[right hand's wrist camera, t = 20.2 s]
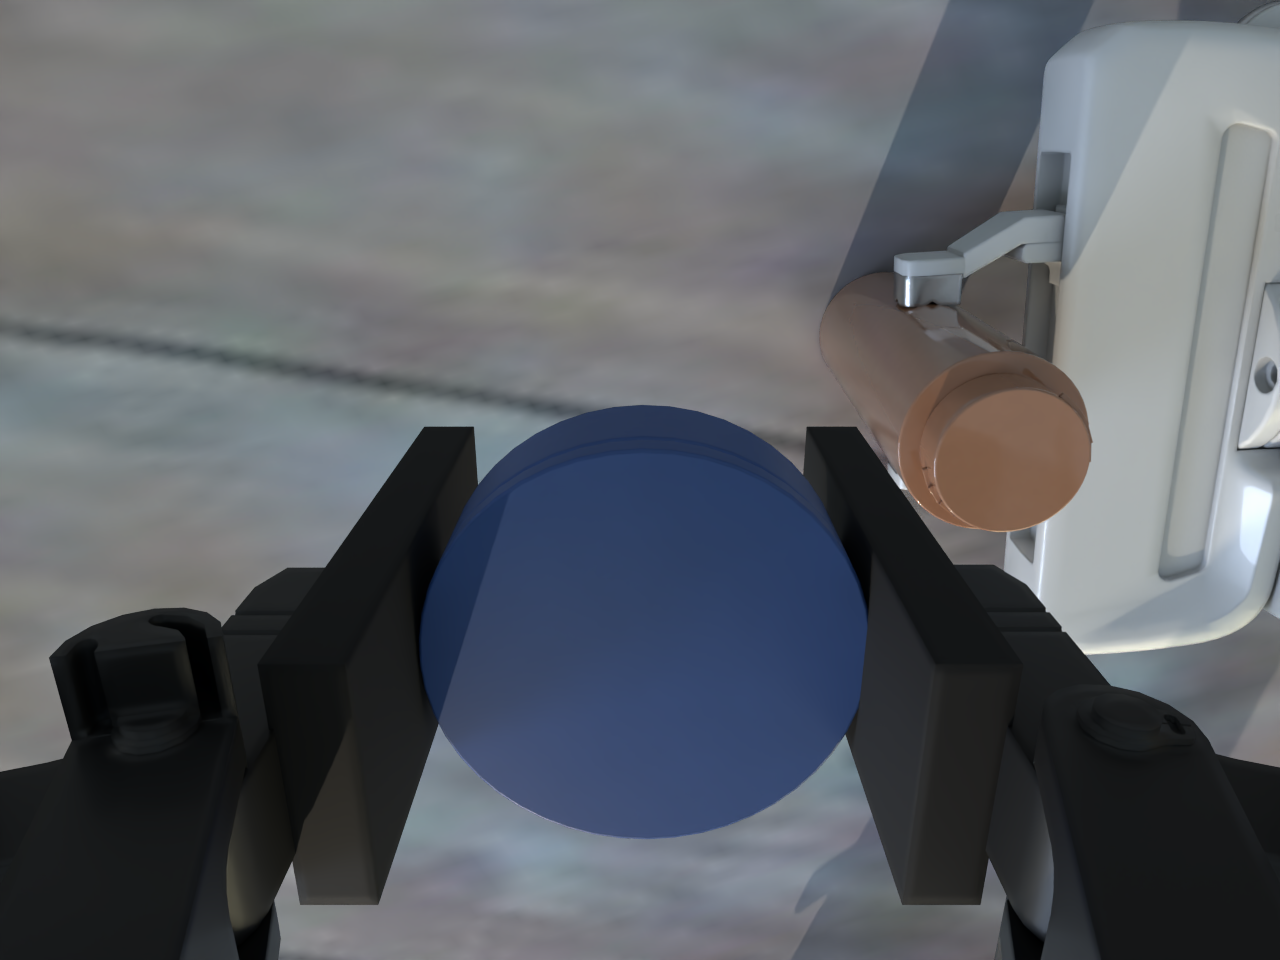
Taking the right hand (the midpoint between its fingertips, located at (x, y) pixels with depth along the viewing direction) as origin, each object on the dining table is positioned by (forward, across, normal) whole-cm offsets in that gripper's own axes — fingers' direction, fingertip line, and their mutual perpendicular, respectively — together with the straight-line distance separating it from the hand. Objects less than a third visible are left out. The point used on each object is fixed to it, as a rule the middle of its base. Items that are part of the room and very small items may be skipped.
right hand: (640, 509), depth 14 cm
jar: (+23, +10, -2) cm, 25 cm away
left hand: (+16, +8, -2) cm, 19 cm away
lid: (-4, 0, 0) cm, 4 cm away
